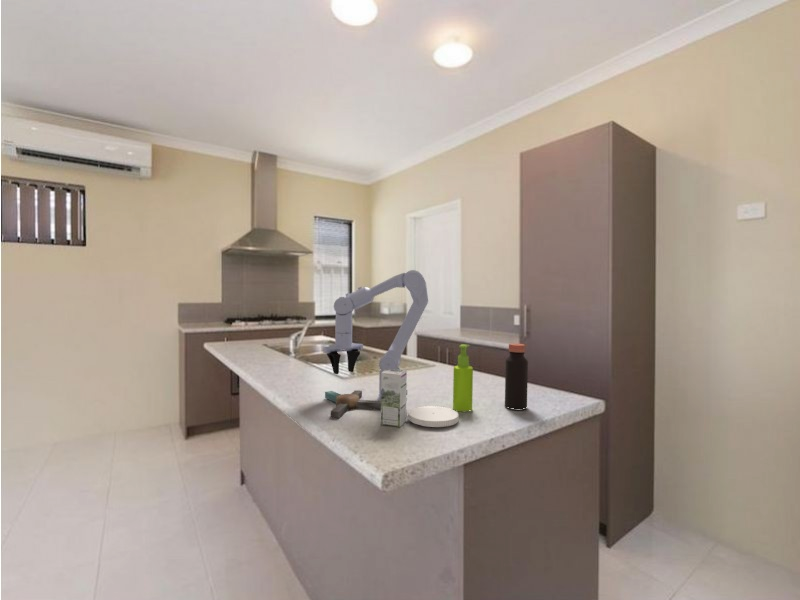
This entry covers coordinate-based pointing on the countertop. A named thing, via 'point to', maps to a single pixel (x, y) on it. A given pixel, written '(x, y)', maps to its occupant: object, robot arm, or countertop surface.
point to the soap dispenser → (463, 382)
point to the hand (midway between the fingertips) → (343, 372)
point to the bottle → (516, 377)
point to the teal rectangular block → (331, 395)
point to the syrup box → (393, 397)
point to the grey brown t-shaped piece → (352, 404)
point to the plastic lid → (433, 416)
